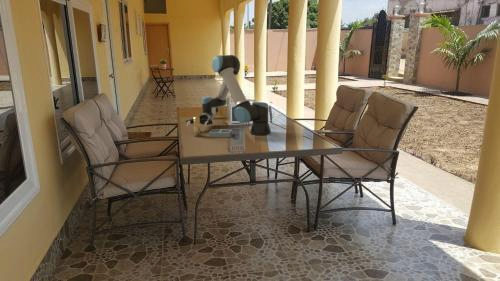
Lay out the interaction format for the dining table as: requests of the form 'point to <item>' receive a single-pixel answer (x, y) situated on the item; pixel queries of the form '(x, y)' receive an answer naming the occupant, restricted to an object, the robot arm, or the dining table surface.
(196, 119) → the gold metal cylinder
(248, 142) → the dining table surface
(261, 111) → the robot arm
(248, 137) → the dining table surface
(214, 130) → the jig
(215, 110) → the pneumatic valve
